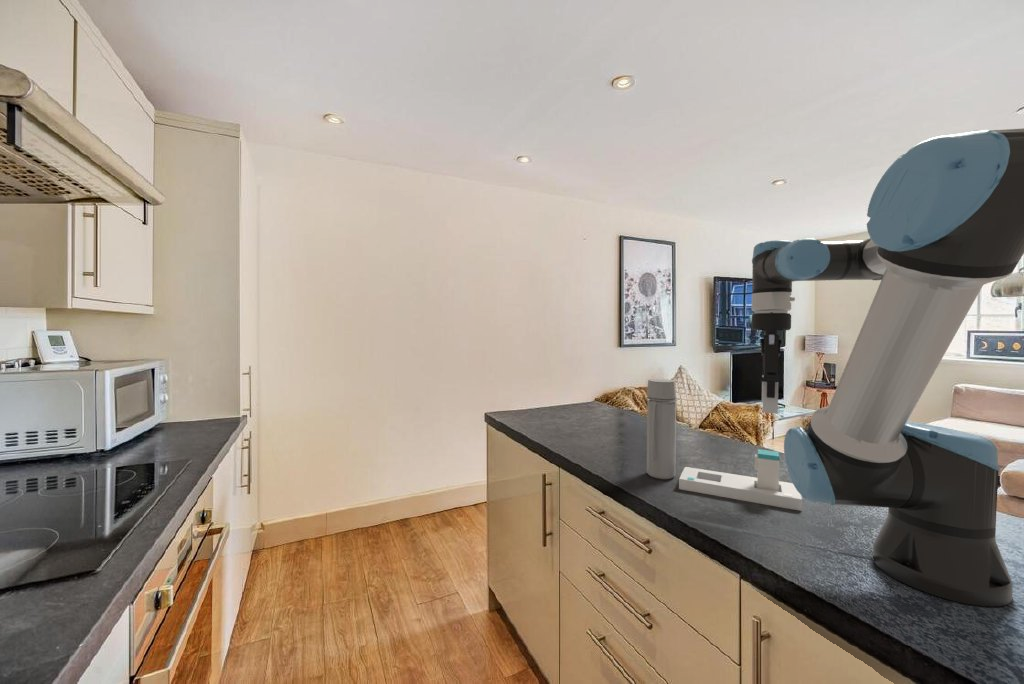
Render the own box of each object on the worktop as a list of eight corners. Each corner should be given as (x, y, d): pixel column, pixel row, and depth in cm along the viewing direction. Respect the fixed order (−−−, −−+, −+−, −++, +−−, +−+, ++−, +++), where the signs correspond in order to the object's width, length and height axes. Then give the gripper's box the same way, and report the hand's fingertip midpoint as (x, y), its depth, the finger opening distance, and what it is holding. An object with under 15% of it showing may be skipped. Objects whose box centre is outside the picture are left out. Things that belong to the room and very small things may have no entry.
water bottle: (653, 468, 115) (654, 378, 114) (681, 475, 109) (683, 380, 109) (636, 477, 108) (637, 380, 108) (665, 485, 103) (666, 383, 102)
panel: (801, 513, 87) (802, 498, 87) (678, 491, 99) (679, 478, 99) (797, 497, 96) (797, 483, 96) (684, 478, 108) (685, 466, 108)
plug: (778, 501, 92) (779, 456, 91) (754, 497, 94) (755, 453, 94) (777, 495, 95) (778, 451, 95) (754, 491, 97) (755, 448, 97)
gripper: (796, 310, 80) (793, 419, 81) (787, 313, 102) (785, 400, 103) (751, 311, 84) (749, 415, 85) (751, 314, 106) (750, 397, 106)
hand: (769, 407), depth 94 cm, fingers open, 13 cm apart
